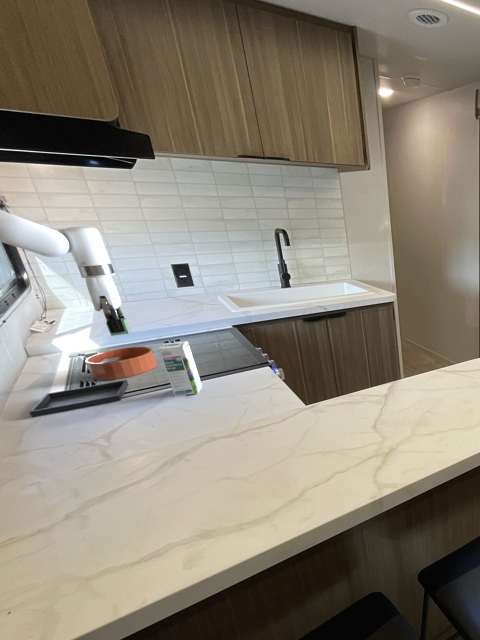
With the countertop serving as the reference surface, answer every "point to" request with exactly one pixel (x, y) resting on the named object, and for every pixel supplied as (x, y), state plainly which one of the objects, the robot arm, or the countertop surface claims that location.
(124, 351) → the bowl
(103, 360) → the walnut block
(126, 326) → the sage block
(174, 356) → the syrup box
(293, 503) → the countertop surface
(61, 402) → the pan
